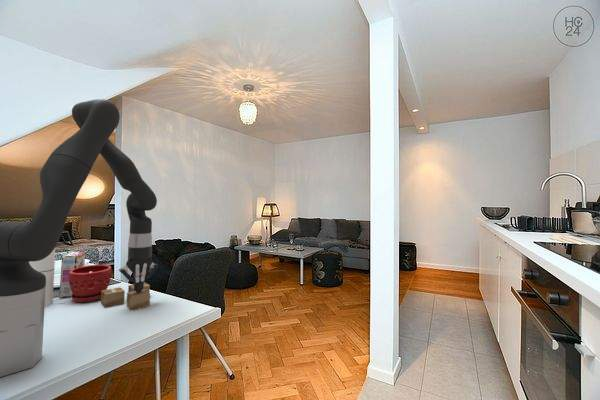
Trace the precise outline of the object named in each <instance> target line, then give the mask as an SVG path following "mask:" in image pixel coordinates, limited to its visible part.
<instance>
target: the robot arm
mask: <svg viewBox="0 0 600 400" xmlns="http://www.w3.org/2000/svg"><path fill="white" fill-rule="evenodd" d="M71 116H72V118H73V120H74V123H75V125H77V127H78V128H79V129H78V130H77V131H76V132H75V133H73V135H70V137H68V138H67V139H66V140H64V141H62V143H61V144H59V146H58V147H56V148H55V149H53V150H52V152H51V153H50V154H49V157H47V160H46V161H44V162H45V163H44V164H43V165H42V168H41V169H40V172H39V183H40V189H41V194H42V195H41V196H42V198H41V202H40V205H39V207H38V209H37V211H36V212H35V214H34V216H32V218H31V220H29V221H20V220H19V221H18V220H17V221H9V220H8V221H2V222H0V378H2V377H6V376H8V375H11V373H12V374H15V373H18V372H22V371H25V370H28V369H31V368H34V367H35V365H36V364H37V363H38V362H39V361H41V360H42V357H43V343H44V326H45V325H44V324H45V307H46V306H45V290H46V277H45V275H44V274H42V273H40V272H38V271H36V270H35V269H33V268H32V267H31V265H30V264H29V261H40V260H42V259H44V258H46V257H47V256H49V255H50V254H51V253H52V251H53V250H54V248H55V249H56V247H57V245H58V242H59V241H60V238H61V235H62V233H63V230H64V227H65V225H66V222H67V220H68V217H69V214H70V211H71V209H72V208H73V206H74V203H75V201H76V199H77V197H78V195H79V193H80V191H81V189H82V187H83V186H84V185H85V182H86V181H87V178H88V176H90V175H89V174H90V173H91V170H92V169H93V166H94V164H95V162H96V161H97V159H98V157H99V155H101V156H102V158H103V159H104V160H105V162H106V163H107V165H108V166H109V168H110V170H111V171H112V173H113V175H114V177H115V179H116V180H117V182H118V183H119V185H120V186H121V188H122V189H124V190H125V191H129V192H130V194H129V195H128V196H127V199H126V201H125V202H126V203H125V204H126V205H125V206H126V211H127V216H128V219H129V235H128V236H129V237H128V242H127V249H128V250H127V261H126V264H125V265H124V266H123V267H121V268H119V269H118V271H119V272H120V273H121V275H123V277H125V278H126V279H127V280H128V281H129V282H131V283H133V284H134V291H136V292H141V291H142V290H143V287H144V282H145V281H146V280H149V279H150V278H151V277H152V275H153V274H154V273H155V271H156V270H157V269H158V268H159V265H158V263H154V262H153V259H152V253H153V251H152V248H153V235H152V233H153V232H152V229H153V224H152V223H153V220H152V218H151V217H148V216H147V215H146V211H147V212H148V211H152V210H154V209H155V208H156V206H157V204H158V200H157V195H156V194H155V192H154V191H153V189H152V188H151V187H150V185H148V183H147V182H145V181H144V179H143V178H142V176H141V174H140V172H139V170H138V169H137V166H136V165H135V163H134V162H133V160H131V158H130V157H129V156H127V154H125V153H124V152H123V151H122V150H121V149H119V148H118V147H117V146H116V145H115V144H114V143H113V142H112V140H111V139H110V137H111V135H112V134H113V133H114V132H115V130H116V129H117V127H118V126H119V123H120V119H121V118H120V112H119V109H118V108H117V106H116V105H115V104H114V103H113V102H112V101H110V100H108V99H102V98H101V99H100V98H98V99H93V100H87V101H82V102H78V103H76V104H74V105H73V107H72V109H71ZM129 271H130V272H132V275H130V274H129V273H128V272H129ZM132 276H133V277H132Z"/></svg>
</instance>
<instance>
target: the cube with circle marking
mask: <svg viewBox="0 0 600 400" xmlns="http://www.w3.org/2000/svg"><path fill="white" fill-rule="evenodd" d="M127 286H128V287H127V289H128V290H127V291H128V292H134V283H132V284H128V285H127ZM150 288H151V285H150V284H148V283H146V282H145V281H144V287H143V290H144V289H145V290H147V291H148V292H149V293H150V294H151V291H150ZM128 292H127V293H128Z"/></svg>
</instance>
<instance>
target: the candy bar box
mask: <svg viewBox="0 0 600 400" xmlns="http://www.w3.org/2000/svg"><path fill="white" fill-rule="evenodd" d="M85 260H86V251H71V252H69V253H67V254H64V255H63V256H61V267H60V279H59V280H60V281H59V297H58V298H59V299H62V298H71V296H72V295H73V293H72V291H71V289H70V285H69V271H71V270H72V269H75V268H78V267H83V266H85ZM77 282H78V281H77Z"/></svg>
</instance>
